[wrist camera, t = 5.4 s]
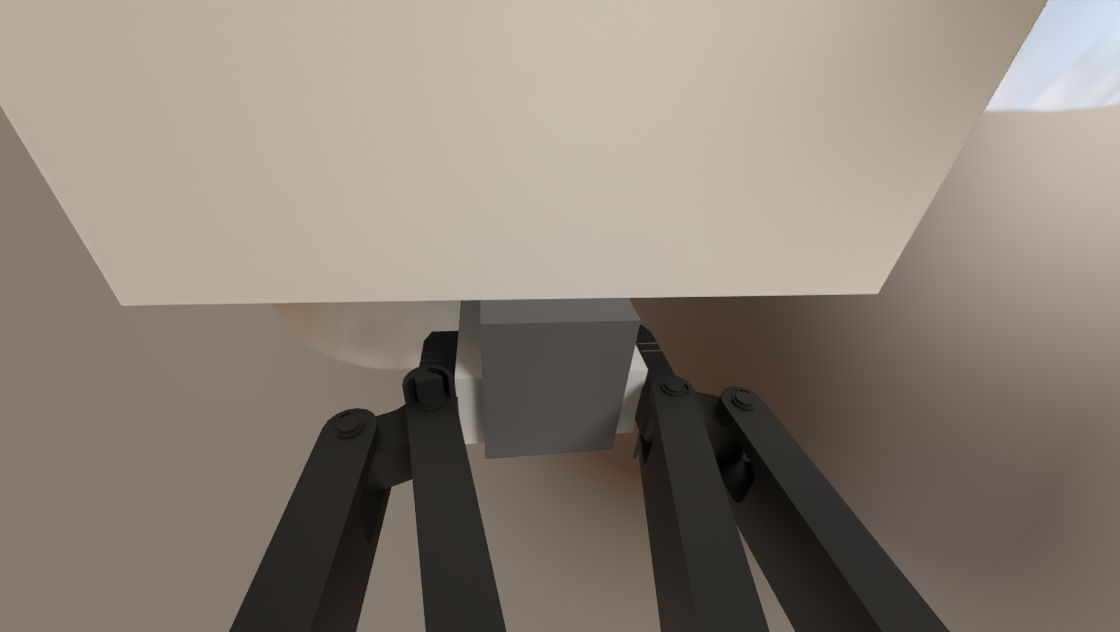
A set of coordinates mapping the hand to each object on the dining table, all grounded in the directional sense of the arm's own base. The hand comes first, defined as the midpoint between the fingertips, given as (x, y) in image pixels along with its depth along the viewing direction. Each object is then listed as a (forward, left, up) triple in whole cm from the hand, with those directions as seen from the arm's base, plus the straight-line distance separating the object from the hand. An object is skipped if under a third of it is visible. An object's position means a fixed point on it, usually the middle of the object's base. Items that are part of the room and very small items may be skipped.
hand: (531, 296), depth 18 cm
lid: (-10, 0, +4) cm, 11 cm away
